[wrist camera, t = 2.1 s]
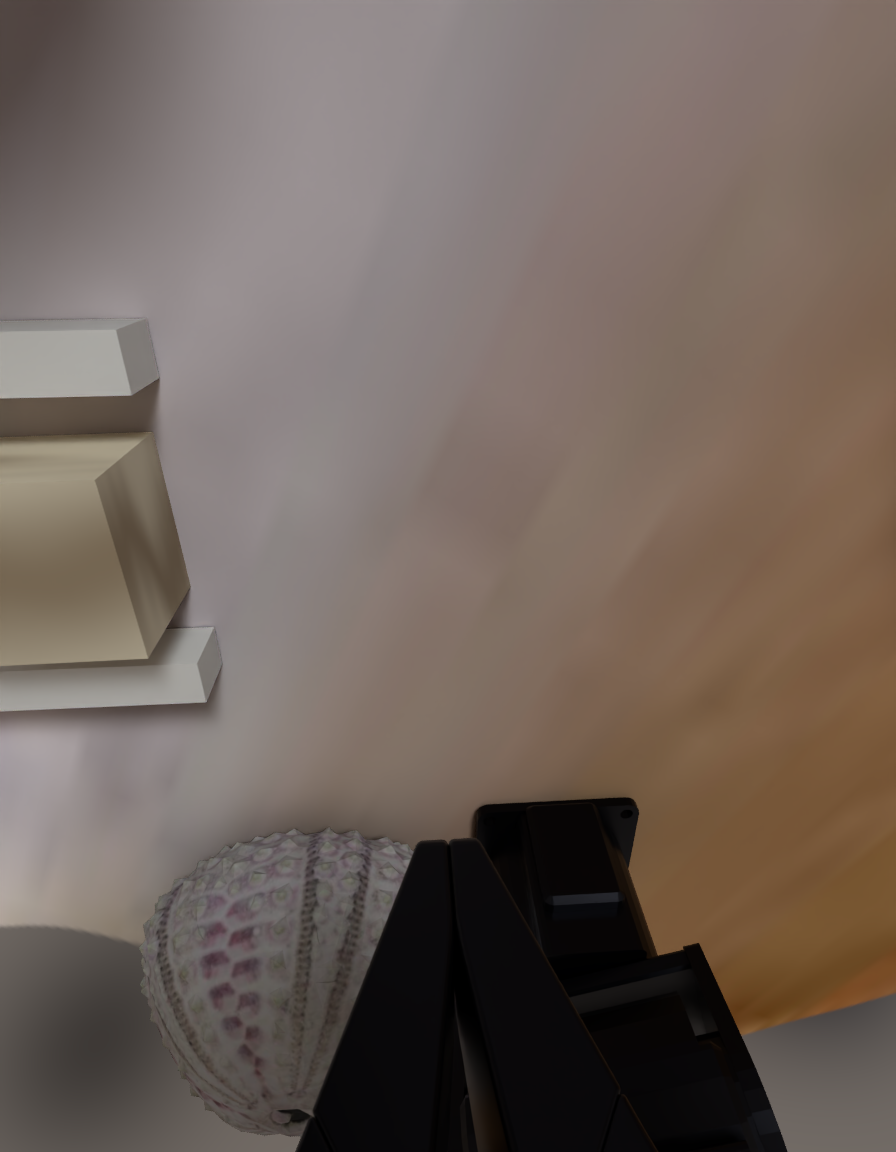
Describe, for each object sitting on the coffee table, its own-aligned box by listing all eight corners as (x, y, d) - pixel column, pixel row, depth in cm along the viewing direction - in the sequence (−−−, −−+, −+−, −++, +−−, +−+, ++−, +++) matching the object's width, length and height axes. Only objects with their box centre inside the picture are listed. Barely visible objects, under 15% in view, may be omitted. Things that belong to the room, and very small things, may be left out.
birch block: (191, 584, 21) (148, 658, 17) (31, 591, 20) (-46, 668, 17) (154, 430, 18) (94, 479, 15) (-28, 436, 18) (-133, 488, 14)
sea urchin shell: (530, 905, 30) (569, 1118, 23) (313, 1018, 33) (289, 1234, 26) (330, 740, 24) (300, 954, 17) (96, 897, 28) (-10, 1129, 21)
